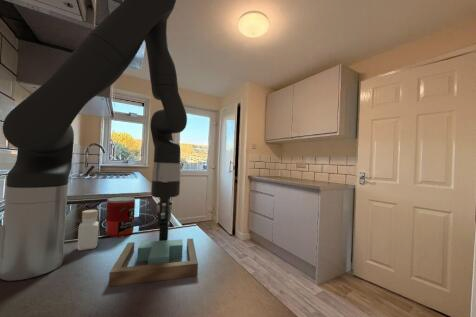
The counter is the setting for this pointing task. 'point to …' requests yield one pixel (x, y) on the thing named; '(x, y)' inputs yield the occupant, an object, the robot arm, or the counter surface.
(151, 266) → the tray
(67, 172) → the robot arm
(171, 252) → the teal T block
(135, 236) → the counter surface
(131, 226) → the canned food
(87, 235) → the salt shaker
